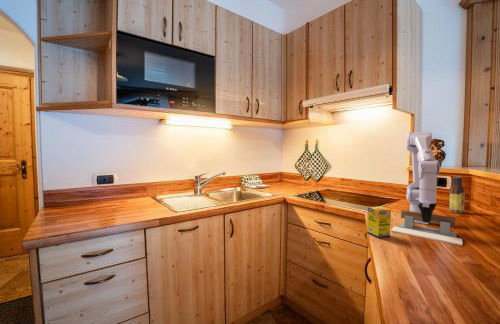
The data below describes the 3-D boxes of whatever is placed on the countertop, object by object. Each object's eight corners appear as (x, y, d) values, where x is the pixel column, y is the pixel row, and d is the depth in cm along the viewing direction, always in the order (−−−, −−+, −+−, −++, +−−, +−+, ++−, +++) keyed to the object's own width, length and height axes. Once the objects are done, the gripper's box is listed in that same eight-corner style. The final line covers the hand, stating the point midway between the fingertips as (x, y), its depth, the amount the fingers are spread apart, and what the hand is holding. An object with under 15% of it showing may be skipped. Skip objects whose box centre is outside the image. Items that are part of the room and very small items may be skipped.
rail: (402, 216, 105) (402, 210, 104) (455, 224, 93) (455, 217, 93) (400, 217, 102) (401, 211, 102) (455, 226, 90) (455, 219, 90)
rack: (401, 224, 106) (401, 212, 106) (456, 234, 94) (456, 220, 94) (398, 227, 102) (399, 215, 101) (456, 238, 89) (457, 224, 89)
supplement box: (378, 238, 89) (379, 210, 88) (366, 233, 94) (367, 206, 94) (390, 237, 90) (391, 209, 90) (378, 232, 96) (379, 206, 96)
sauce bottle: (464, 214, 124) (466, 177, 123) (449, 212, 127) (450, 177, 127) (463, 212, 129) (464, 176, 128) (448, 210, 133) (449, 176, 132)
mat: (394, 227, 102) (394, 226, 102) (461, 240, 87) (461, 238, 87) (391, 231, 96) (391, 230, 96) (462, 245, 82) (462, 244, 82)
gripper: (418, 186, 105) (417, 215, 106) (414, 190, 94) (412, 223, 95) (437, 188, 100) (436, 218, 101) (436, 192, 90) (434, 226, 90)
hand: (426, 221), depth 98 cm, fingers closed on rail, 3 cm apart
